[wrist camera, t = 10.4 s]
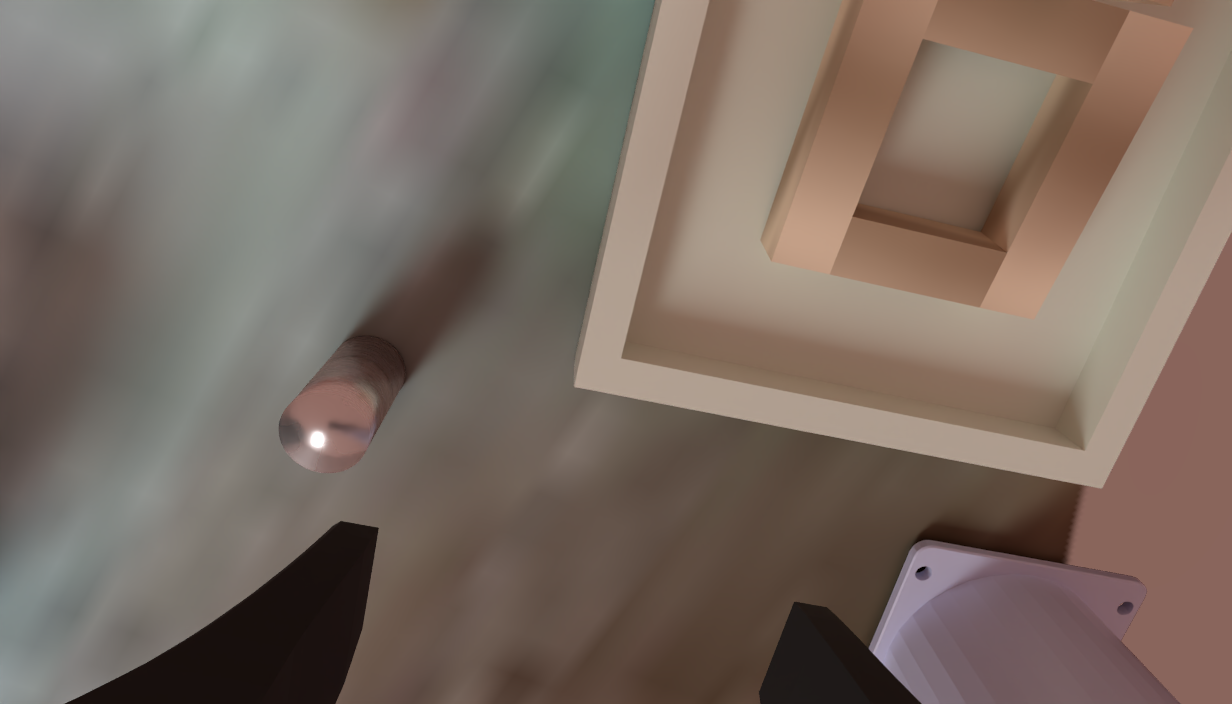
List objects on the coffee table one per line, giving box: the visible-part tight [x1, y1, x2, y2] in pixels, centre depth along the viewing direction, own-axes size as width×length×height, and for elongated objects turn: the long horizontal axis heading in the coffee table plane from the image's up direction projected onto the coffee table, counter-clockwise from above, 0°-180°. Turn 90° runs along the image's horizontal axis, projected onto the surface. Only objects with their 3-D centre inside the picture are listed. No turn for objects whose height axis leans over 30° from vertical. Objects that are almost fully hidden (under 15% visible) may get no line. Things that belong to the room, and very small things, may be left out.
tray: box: [574, 0, 1232, 489], centre depth 19 cm, size 15×15×2 cm
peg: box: [279, 336, 406, 473], centre depth 19 cm, size 2×2×4 cm
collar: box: [760, 0, 1194, 320], centre depth 16 cm, size 10×7×4 cm
